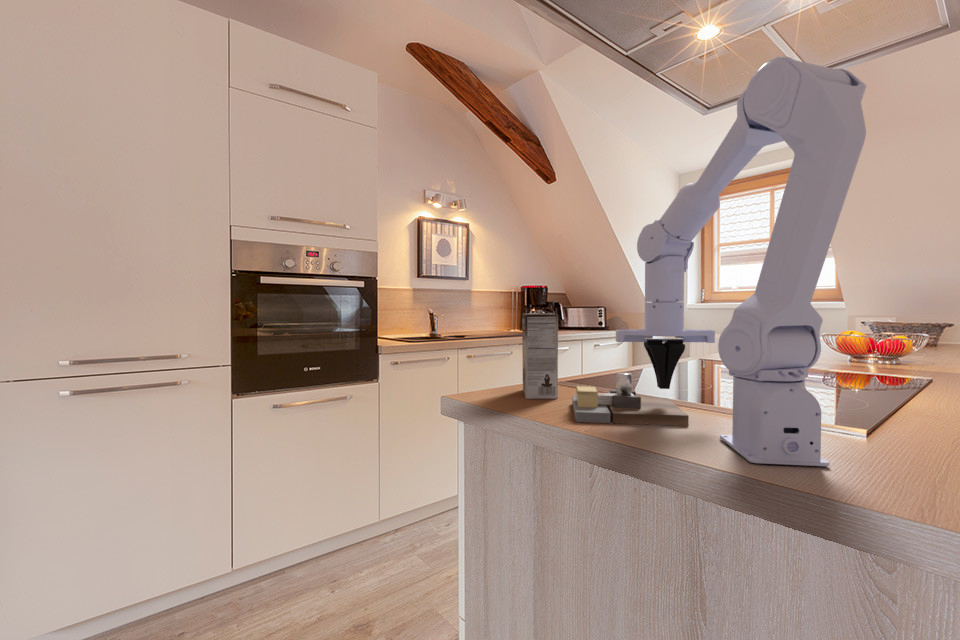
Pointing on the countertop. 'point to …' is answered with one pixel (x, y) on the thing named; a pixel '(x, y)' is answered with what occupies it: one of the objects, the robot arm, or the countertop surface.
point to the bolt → (622, 389)
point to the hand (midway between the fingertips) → (663, 387)
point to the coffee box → (540, 355)
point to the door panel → (645, 411)
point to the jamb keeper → (589, 406)
